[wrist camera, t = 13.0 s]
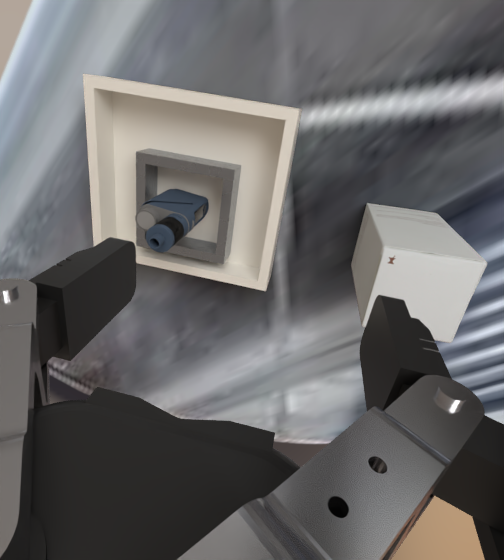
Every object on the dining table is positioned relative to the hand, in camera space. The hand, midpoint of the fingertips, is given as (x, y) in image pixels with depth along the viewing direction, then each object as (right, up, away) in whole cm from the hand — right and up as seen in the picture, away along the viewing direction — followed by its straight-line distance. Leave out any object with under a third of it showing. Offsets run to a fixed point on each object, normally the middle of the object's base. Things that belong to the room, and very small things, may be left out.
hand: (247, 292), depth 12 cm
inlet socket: (-6, +9, +29) cm, 31 cm away
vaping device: (-7, +9, +28) cm, 30 cm away
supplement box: (+15, +5, +27) cm, 31 cm away
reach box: (-6, +11, +28) cm, 30 cm away
